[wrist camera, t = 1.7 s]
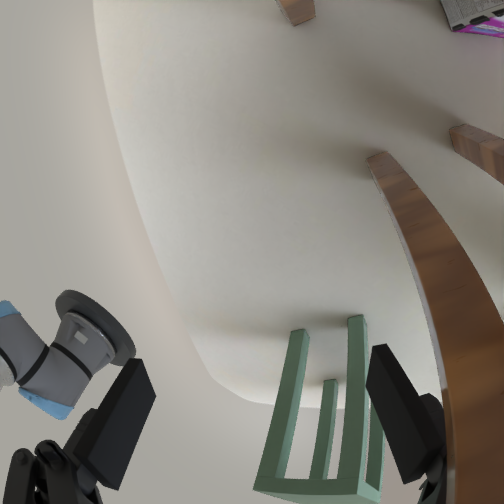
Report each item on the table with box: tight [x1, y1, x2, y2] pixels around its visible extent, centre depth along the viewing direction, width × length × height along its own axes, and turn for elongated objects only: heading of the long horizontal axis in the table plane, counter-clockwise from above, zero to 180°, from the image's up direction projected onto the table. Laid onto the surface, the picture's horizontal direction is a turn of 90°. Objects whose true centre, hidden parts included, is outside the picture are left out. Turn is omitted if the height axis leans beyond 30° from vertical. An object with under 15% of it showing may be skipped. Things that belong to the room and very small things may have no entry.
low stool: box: [253, 315, 385, 504], centre depth 25 cm, size 9×14×20 cm, turn 30°
